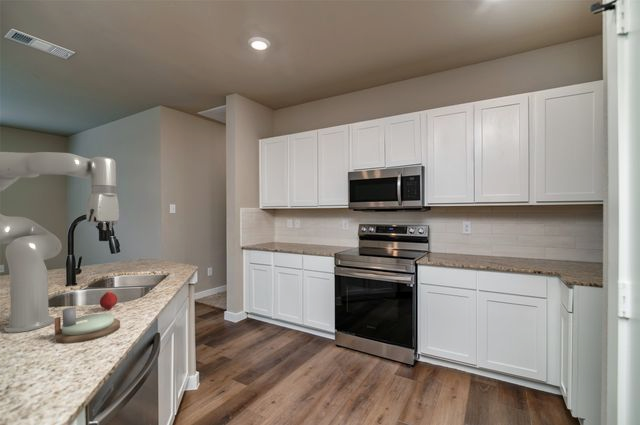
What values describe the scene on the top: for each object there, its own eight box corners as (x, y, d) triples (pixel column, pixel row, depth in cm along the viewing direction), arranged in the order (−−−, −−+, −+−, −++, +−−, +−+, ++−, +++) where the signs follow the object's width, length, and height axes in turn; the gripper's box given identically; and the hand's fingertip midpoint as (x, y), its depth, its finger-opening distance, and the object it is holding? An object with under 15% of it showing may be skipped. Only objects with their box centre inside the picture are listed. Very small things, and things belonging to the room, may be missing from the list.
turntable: (108, 316, 108) (108, 297, 108) (119, 325, 99) (118, 304, 99) (59, 327, 98) (58, 306, 98) (65, 339, 89) (65, 315, 89)
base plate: (39, 342, 91) (39, 321, 91) (89, 321, 108) (88, 303, 108) (89, 344, 89) (89, 322, 89) (132, 323, 106) (131, 304, 106)
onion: (108, 312, 117) (107, 292, 117) (96, 312, 118) (95, 292, 118) (120, 308, 123) (120, 288, 123) (109, 307, 124) (108, 288, 124)
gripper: (111, 192, 117) (111, 239, 118) (75, 190, 103) (76, 243, 103) (128, 192, 117) (129, 239, 117) (95, 189, 102) (96, 243, 102)
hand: (104, 240), depth 110 cm, fingers closed
